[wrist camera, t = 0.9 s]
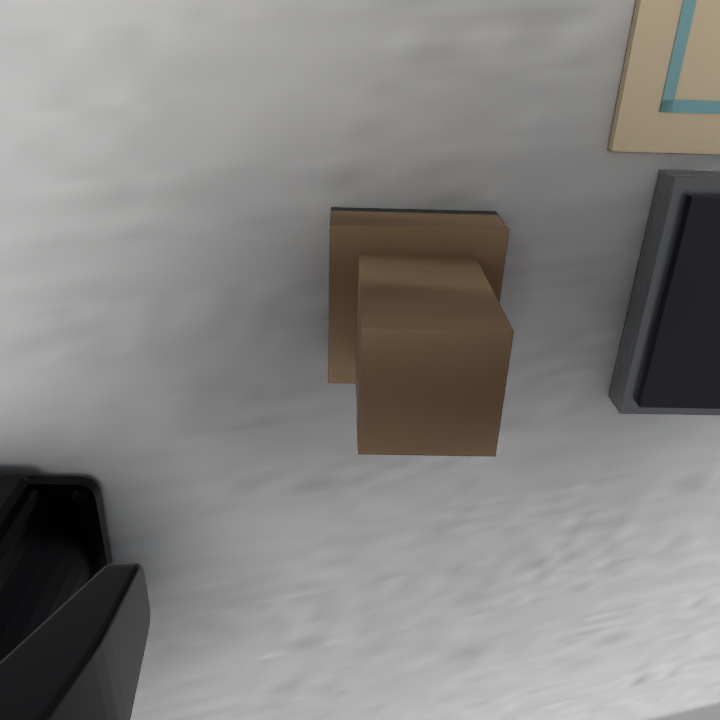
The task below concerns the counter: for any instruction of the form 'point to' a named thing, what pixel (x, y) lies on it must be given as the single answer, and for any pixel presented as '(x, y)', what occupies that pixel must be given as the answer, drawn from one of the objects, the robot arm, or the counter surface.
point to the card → (670, 80)
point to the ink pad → (675, 304)
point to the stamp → (420, 327)
